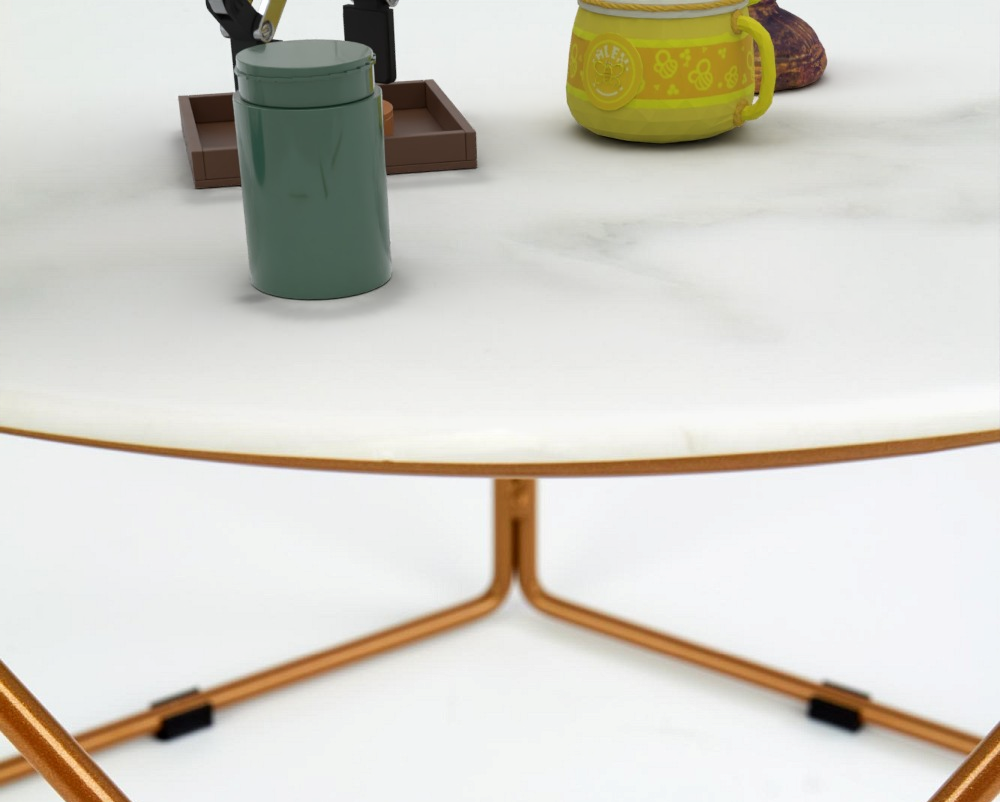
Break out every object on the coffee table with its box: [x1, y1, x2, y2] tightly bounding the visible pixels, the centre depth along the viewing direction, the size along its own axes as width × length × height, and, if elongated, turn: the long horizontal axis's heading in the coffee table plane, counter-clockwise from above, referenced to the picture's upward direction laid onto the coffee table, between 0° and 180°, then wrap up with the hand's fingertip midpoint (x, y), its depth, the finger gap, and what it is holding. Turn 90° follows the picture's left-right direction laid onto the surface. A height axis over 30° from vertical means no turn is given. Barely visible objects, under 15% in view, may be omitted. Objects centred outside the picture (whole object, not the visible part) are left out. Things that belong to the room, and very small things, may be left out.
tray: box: [177, 78, 478, 189], centre depth 97 cm, size 15×13×2 cm
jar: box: [233, 38, 393, 300], centre depth 75 cm, size 6×6×10 cm
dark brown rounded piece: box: [747, 0, 828, 94], centre depth 109 cm, size 12×12×7 cm
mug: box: [565, 0, 776, 144], centre depth 95 cm, size 13×11×12 cm
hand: (319, 98), depth 96 cm, fingers open, 9 cm apart
